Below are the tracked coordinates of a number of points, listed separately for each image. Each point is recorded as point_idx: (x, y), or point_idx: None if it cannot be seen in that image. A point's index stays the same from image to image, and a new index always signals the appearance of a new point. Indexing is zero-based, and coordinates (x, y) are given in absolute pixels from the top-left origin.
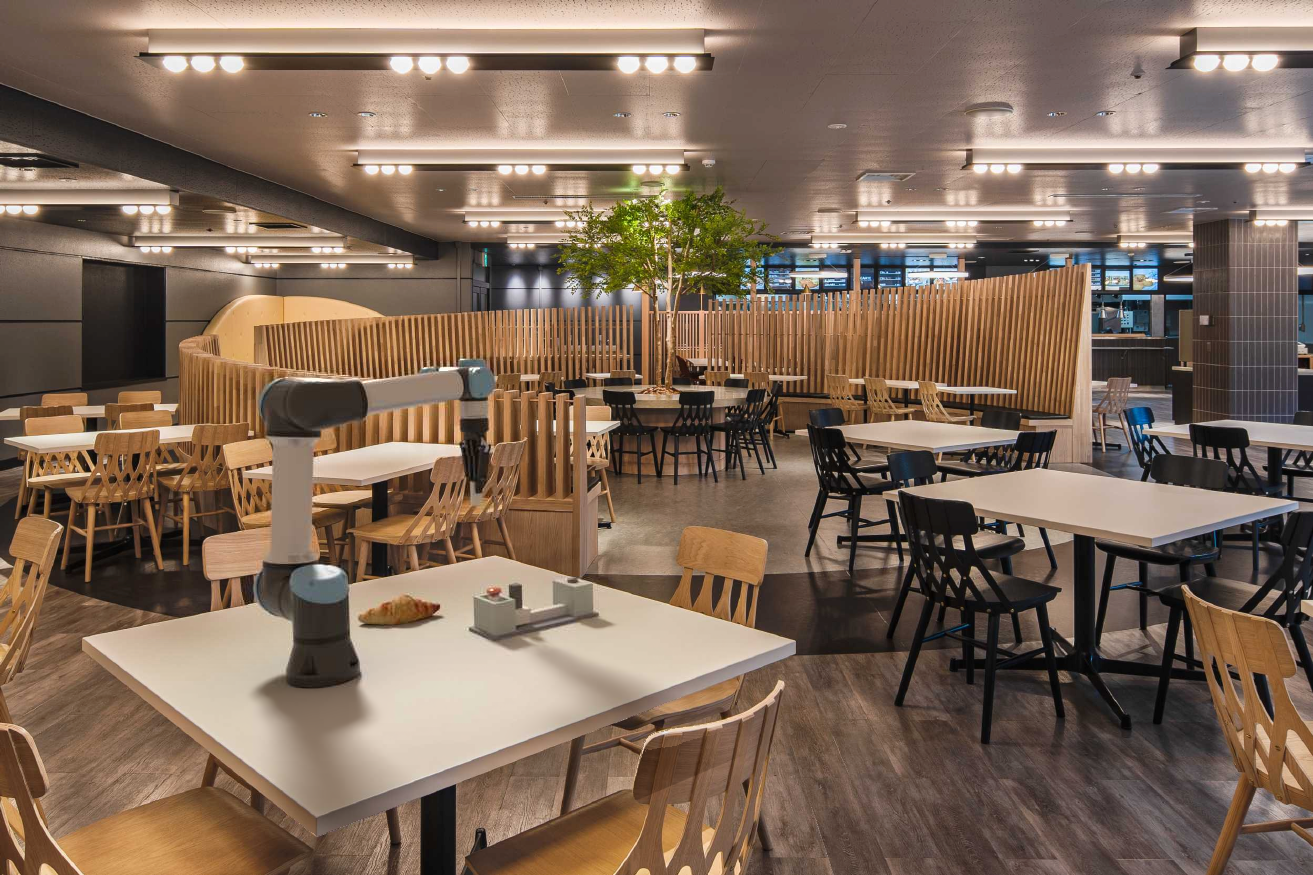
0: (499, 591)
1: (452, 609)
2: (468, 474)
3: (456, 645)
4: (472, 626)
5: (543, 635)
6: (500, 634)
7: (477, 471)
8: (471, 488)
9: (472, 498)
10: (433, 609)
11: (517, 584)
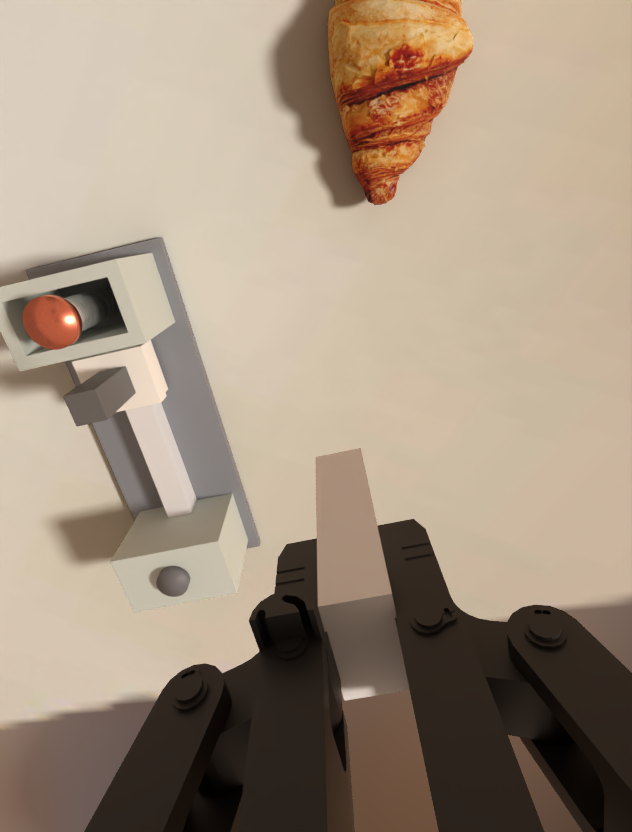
0: (33, 336)
1: (410, 259)
2: (472, 666)
3: (24, 155)
4: (163, 250)
5: (41, 401)
6: None
7: (168, 795)
8: (353, 540)
9: (331, 485)
10: (354, 172)
11: (84, 414)
